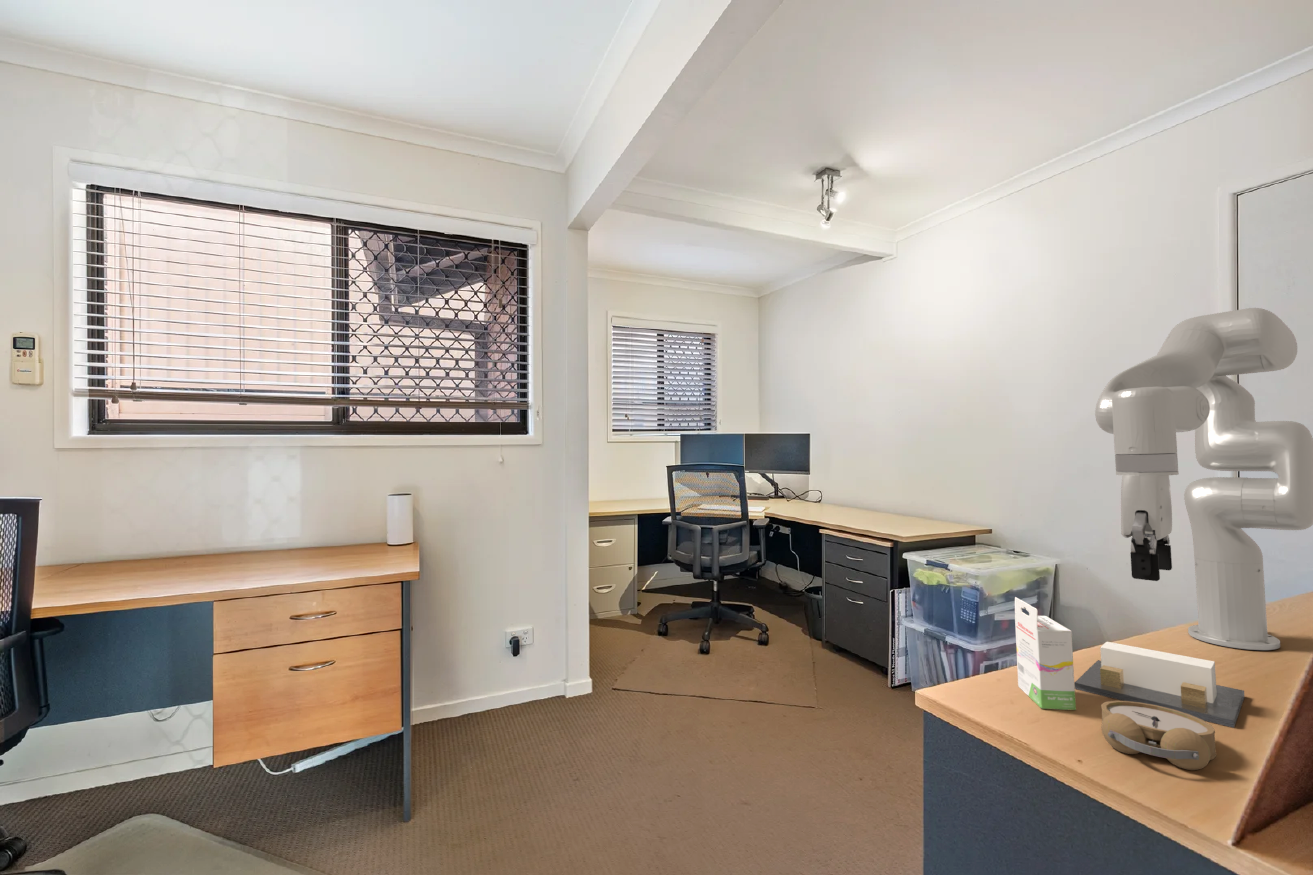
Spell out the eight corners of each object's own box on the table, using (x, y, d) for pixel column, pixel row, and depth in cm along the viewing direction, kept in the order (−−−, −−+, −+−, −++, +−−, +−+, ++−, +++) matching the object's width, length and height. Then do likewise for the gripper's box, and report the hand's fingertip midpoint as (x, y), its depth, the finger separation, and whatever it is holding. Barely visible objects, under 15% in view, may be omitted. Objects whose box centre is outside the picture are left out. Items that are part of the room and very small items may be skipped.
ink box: (1078, 711, 84) (1073, 610, 84) (1041, 709, 84) (1035, 609, 85) (1050, 687, 92) (1045, 595, 92) (1016, 686, 93) (1012, 595, 93)
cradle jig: (1098, 665, 100) (1097, 645, 100) (1244, 697, 86) (1243, 673, 86) (1074, 688, 91) (1073, 666, 91) (1234, 727, 77) (1232, 701, 78)
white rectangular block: (1108, 671, 95) (1106, 641, 95) (1216, 695, 85) (1214, 661, 85) (1102, 678, 92) (1100, 647, 93) (1213, 703, 83) (1211, 668, 83)
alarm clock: (1214, 717, 75) (1215, 739, 65) (1216, 757, 74) (1217, 786, 64) (1106, 694, 83) (1091, 710, 72) (1107, 730, 82) (1092, 752, 72)
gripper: (1128, 463, 98) (1134, 562, 98) (1101, 468, 87) (1108, 580, 87) (1187, 462, 93) (1193, 568, 92) (1166, 468, 82) (1174, 587, 81)
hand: (1152, 574), depth 90 cm, fingers open, 9 cm apart
